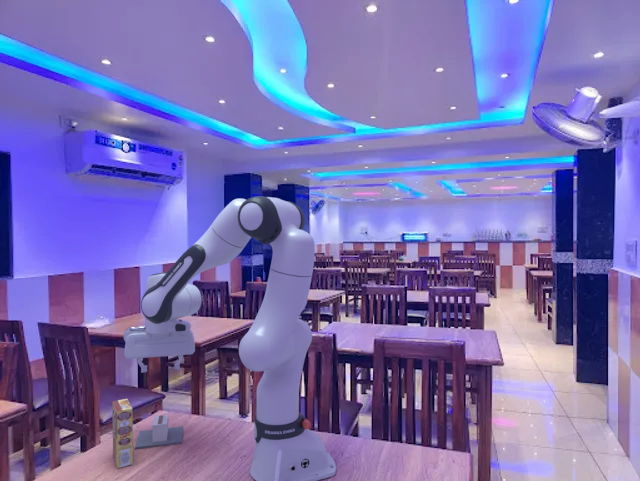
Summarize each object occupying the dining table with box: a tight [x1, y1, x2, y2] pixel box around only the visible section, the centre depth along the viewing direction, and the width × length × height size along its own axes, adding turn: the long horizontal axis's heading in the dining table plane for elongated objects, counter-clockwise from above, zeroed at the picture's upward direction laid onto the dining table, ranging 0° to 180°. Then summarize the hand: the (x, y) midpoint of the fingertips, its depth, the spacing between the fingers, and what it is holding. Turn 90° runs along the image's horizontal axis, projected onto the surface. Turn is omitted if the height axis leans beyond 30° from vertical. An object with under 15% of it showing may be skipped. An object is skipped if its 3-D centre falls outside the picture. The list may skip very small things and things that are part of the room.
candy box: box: [112, 398, 134, 469], centre depth 118 cm, size 9×4×15 cm, turn 33°
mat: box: [134, 425, 184, 450], centre depth 131 cm, size 13×11×1 cm
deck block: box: [151, 414, 169, 442], centre depth 131 cm, size 7×4×5 cm, turn 16°
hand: (160, 370), depth 131 cm, fingers open, 8 cm apart
